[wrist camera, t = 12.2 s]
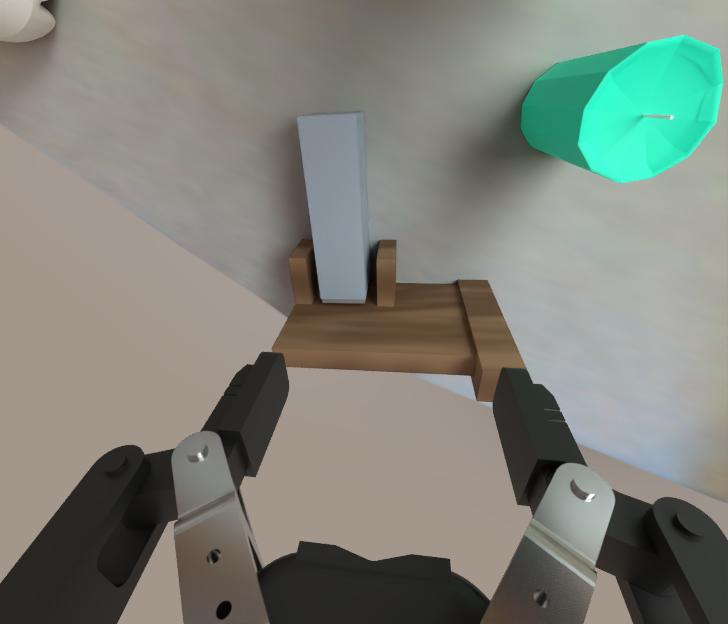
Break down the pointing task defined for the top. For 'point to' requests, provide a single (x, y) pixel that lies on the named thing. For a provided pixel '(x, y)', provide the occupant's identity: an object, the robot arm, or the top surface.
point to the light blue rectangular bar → (337, 202)
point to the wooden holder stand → (398, 326)
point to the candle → (626, 107)
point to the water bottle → (24, 20)
